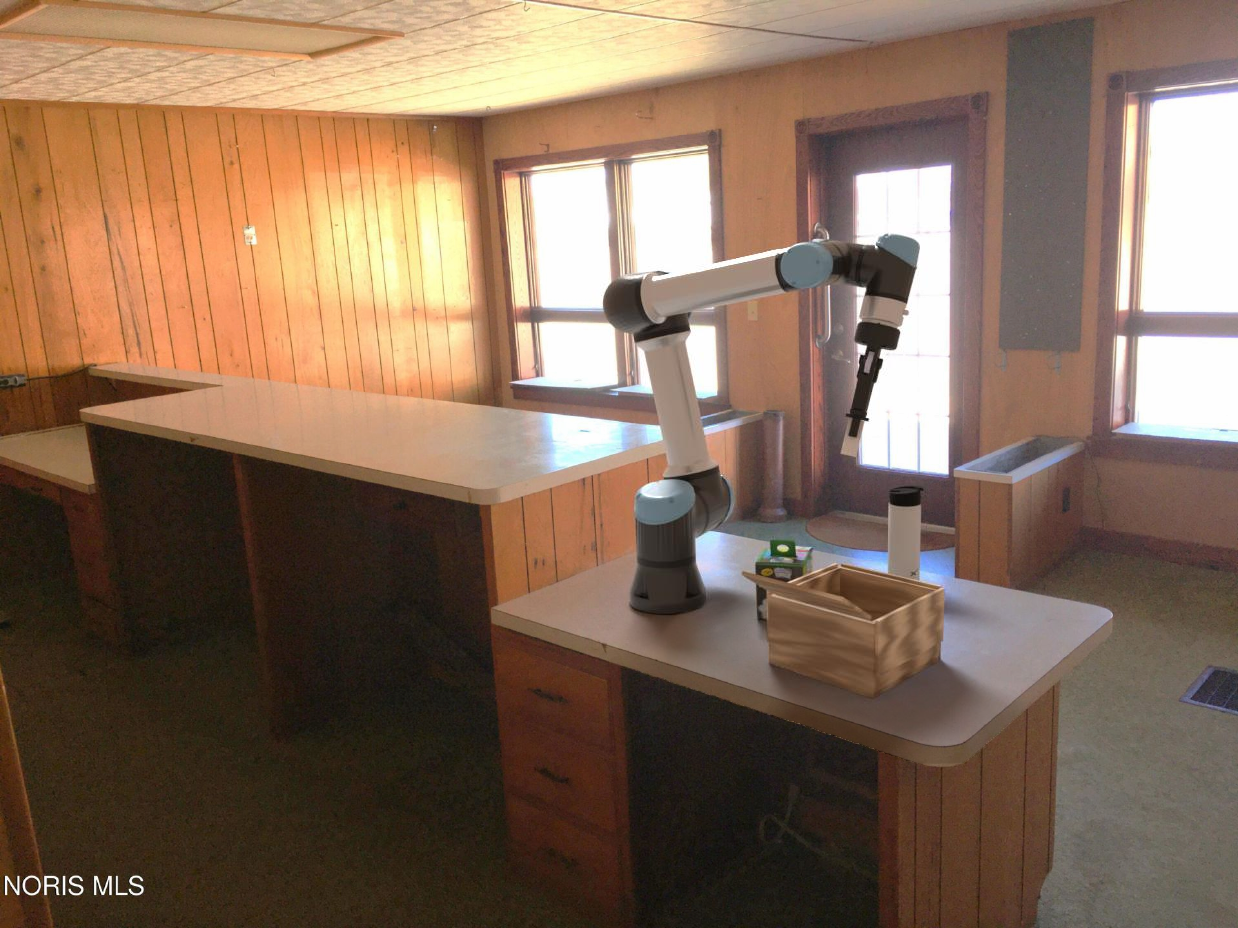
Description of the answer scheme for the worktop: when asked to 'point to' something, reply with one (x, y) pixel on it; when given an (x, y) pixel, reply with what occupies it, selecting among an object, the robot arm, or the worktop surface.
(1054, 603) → the worktop surface
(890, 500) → the travel mug
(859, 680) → the light wood open box
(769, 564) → the chalk box
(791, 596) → the flap
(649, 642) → the worktop surface
